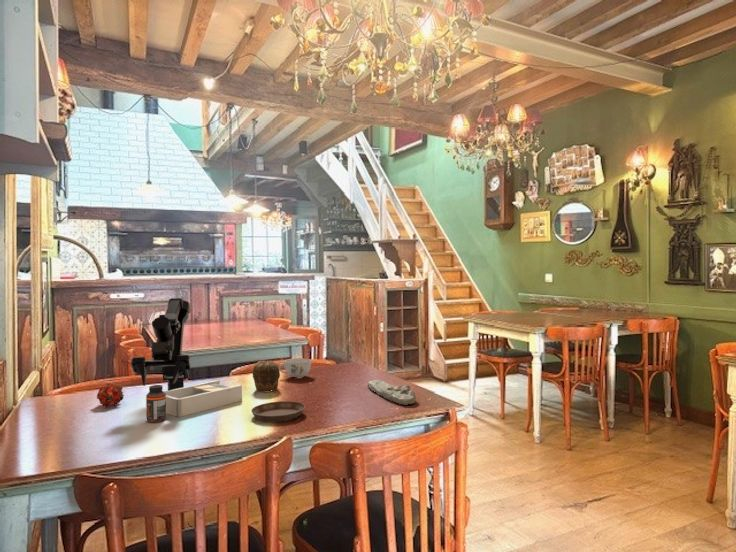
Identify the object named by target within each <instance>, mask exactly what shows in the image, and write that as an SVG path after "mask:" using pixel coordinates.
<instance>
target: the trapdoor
mask: <svg viewBox="0 0 736 552" xmlns="http://www.w3.org/2000/svg"><path fill="white" fill-rule="evenodd" d="M228 387H230V385H229V386H228V385H224V384H220V385H219V384H215V383H214V384H209V385H201V386H196V387H193V389H197V390H201V391H206V392H211V391H215V390H219V389H224V388H228Z"/></svg>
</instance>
